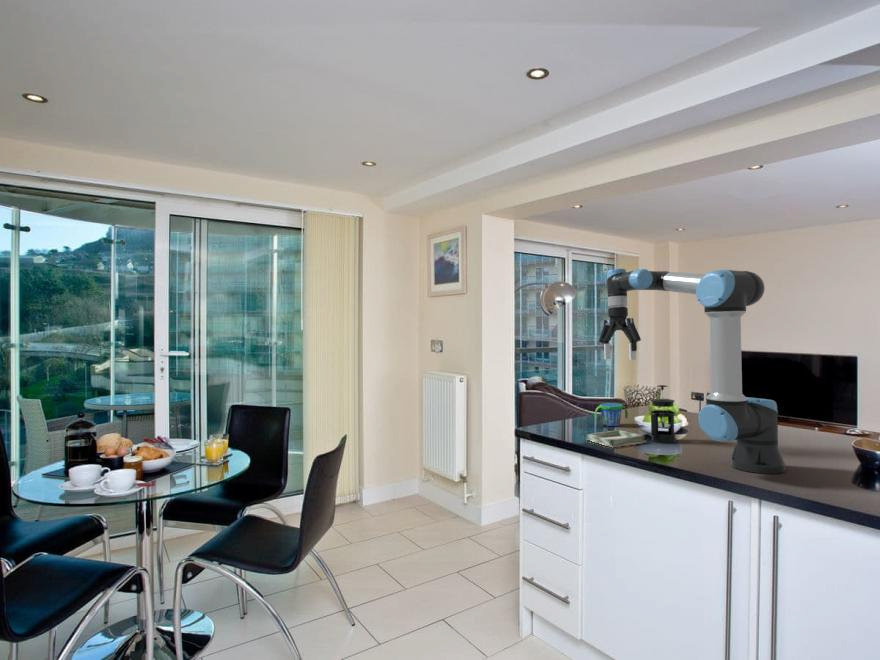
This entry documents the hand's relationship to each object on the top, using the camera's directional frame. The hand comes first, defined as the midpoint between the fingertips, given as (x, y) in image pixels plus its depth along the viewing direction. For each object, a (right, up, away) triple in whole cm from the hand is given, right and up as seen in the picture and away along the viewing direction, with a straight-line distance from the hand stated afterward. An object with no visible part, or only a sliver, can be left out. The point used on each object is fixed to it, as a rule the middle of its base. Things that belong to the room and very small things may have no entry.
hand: (619, 359), depth 206 cm
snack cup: (+10, -35, +40) cm, 53 cm away
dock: (0, -34, +4) cm, 35 cm away
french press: (+19, -34, +4) cm, 39 cm away
